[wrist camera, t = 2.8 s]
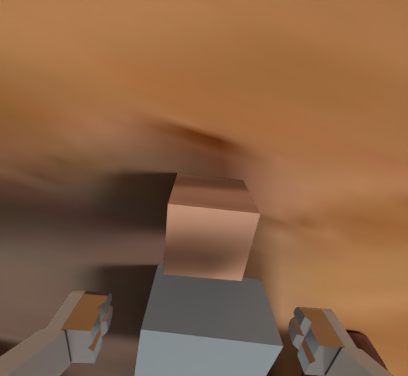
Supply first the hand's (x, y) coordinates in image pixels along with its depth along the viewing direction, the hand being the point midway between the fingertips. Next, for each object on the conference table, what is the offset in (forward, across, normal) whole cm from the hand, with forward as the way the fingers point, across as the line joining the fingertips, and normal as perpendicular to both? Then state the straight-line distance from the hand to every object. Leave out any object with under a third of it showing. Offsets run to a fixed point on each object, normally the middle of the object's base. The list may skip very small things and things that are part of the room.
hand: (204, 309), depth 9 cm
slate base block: (+9, -1, +11) cm, 14 cm away
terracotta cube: (+8, 0, -1) cm, 8 cm away
